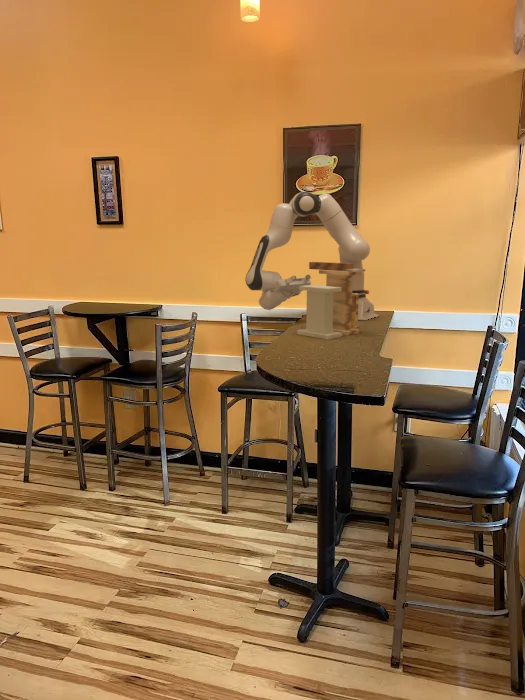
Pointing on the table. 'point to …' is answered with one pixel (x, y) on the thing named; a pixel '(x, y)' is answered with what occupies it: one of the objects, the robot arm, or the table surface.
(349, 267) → the scraper
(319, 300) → the short pedestal
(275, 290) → the robot arm
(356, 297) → the candy box
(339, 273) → the tall pedestal
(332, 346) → the table surface
